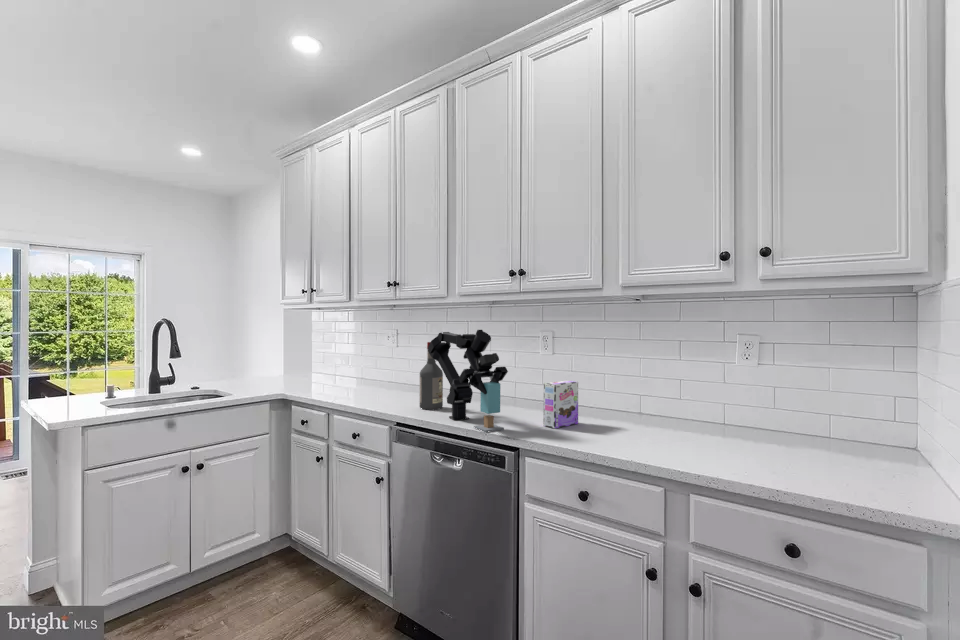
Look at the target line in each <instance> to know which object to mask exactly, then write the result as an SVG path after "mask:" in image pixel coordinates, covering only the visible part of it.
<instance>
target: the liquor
mask: <svg viewBox="0 0 960 640" xmlns="http://www.w3.org/2000/svg"><path fill="white" fill-rule="evenodd" d="M430 342H431V341H427V342H426V344H427V345H426V349H427V350H428V346H429V344H430ZM443 375H444V372H443V370H442V368H440V365H438V364H437V361H436V360H435V359H433V358H432V357H431V355H430V354H429V352H428V351H427V360H426V364H424V365H423V367H422V368H421V369H420V371H419V408H420V409H421V408H422V409H421V410H424V409H430V410H429V411H437V409H438V410H439V409H442V407H443V406H444V404H443V403H444V402H443V401H444V400H443V398H444V392H443V391H444V389H443V388H444V386H443V385H444V383H443V382H444V378H443V377H444V376H443Z"/></svg>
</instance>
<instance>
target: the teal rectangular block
mask: <svg viewBox="0 0 960 640" xmlns="http://www.w3.org/2000/svg"><path fill="white" fill-rule="evenodd" d="M482 382H483V381H482ZM483 384H484V386H485V388H486V391H487V394H484V393H482V392H481V391H480V410H479V411H480V412H482V413H484V414H487V415H491V414H497V413H498V414H499V413H501V383H500V382H499V383H496V382H490V381H486V382H483Z"/></svg>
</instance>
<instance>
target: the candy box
mask: <svg viewBox="0 0 960 640" xmlns="http://www.w3.org/2000/svg"><path fill="white" fill-rule="evenodd" d="M542 423H543V427H546V428H551V429H553V430H554V429H559V428H563V427H569V426H570V427H571V426H573V425H574V426H575V425H578V424H579V382H578V381H575V380H574V381H572V380H561V381H551V382H544V383H543V422H542Z"/></svg>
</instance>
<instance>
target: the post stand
mask: <svg viewBox="0 0 960 640" xmlns="http://www.w3.org/2000/svg"><path fill="white" fill-rule="evenodd" d="M494 418H495V416H494V415H491V414H487V415H484V416H483V424H480V425H473V428H474V427H475V428H477V429H480V430H482V431H484V432H483V433H485V432H486V433H489V432H488V431H493V432H496V431H495V430H500V431H504V430H505V427H503V426H501V425H497V424H494V423H495V422H494V420H495V419H494ZM477 429H476V430H477ZM480 430H479V431H480ZM482 431H481V432H482Z"/></svg>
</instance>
